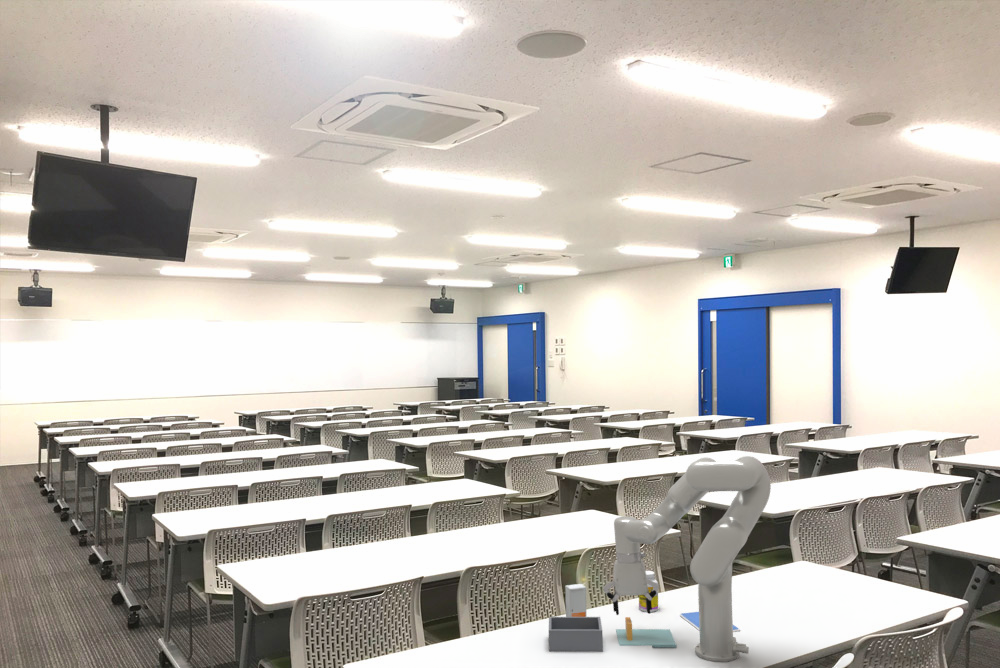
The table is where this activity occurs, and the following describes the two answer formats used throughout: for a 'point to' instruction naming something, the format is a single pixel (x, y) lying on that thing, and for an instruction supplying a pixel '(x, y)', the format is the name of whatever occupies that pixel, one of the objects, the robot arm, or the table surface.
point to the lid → (644, 636)
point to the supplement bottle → (642, 598)
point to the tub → (575, 634)
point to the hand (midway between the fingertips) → (632, 612)
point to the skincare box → (575, 600)
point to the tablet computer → (694, 620)
